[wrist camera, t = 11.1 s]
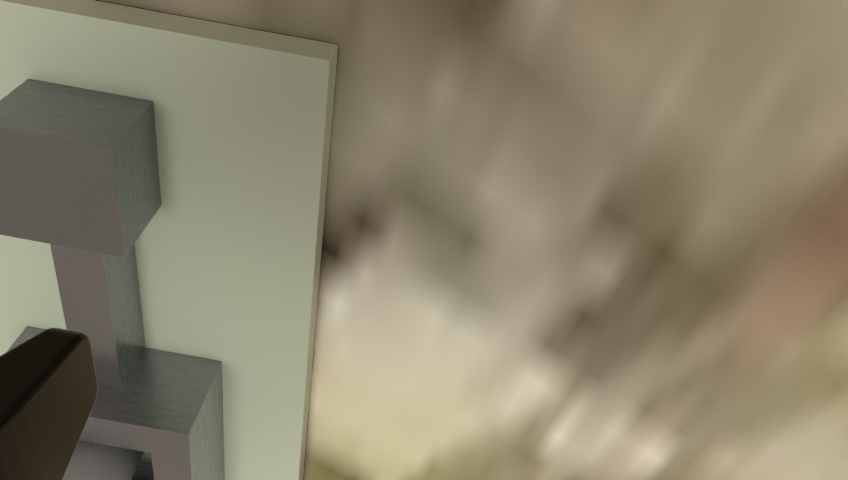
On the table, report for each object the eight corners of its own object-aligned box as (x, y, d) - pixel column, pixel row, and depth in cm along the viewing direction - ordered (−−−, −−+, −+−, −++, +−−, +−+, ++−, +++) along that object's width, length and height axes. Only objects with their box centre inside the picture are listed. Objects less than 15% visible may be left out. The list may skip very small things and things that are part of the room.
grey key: (215, 112, 19) (170, 173, 17) (224, 480, 28) (196, 554, 26) (-34, 67, 19) (-116, 121, 17) (56, 449, 28) (12, 520, 26)
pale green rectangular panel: (338, 45, 19) (286, 142, 15) (300, 511, 31) (266, 635, 26) (-139, -43, 19) (-322, 30, 15) (9, 458, 31) (-69, 574, 26)
